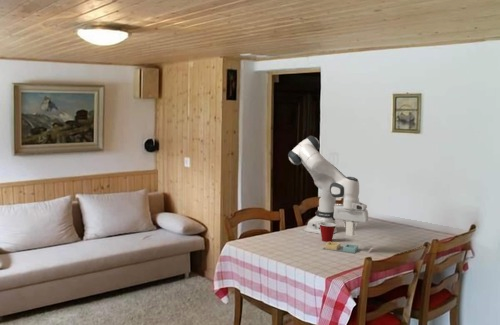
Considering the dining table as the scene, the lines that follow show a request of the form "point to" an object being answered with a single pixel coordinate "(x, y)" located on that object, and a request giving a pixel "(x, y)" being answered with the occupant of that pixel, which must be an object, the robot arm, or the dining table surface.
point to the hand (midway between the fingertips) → (350, 228)
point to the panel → (341, 247)
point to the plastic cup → (327, 231)
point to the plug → (350, 228)
